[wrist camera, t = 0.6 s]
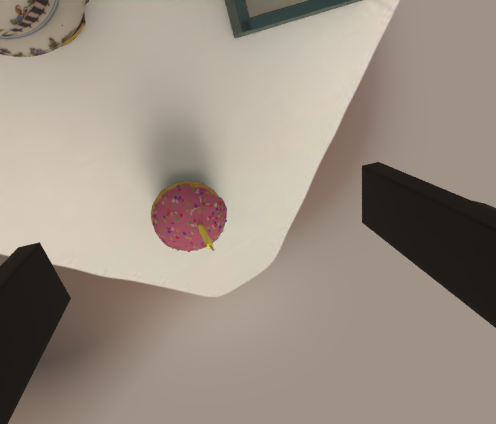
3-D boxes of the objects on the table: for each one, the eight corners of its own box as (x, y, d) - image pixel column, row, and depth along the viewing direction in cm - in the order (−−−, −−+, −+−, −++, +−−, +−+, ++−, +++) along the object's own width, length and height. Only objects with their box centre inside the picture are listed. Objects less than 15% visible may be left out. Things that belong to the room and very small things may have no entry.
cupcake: (223, 172, 38) (239, 208, 27) (220, 232, 41) (233, 285, 30) (152, 171, 36) (140, 209, 25) (155, 233, 39) (145, 290, 29)
